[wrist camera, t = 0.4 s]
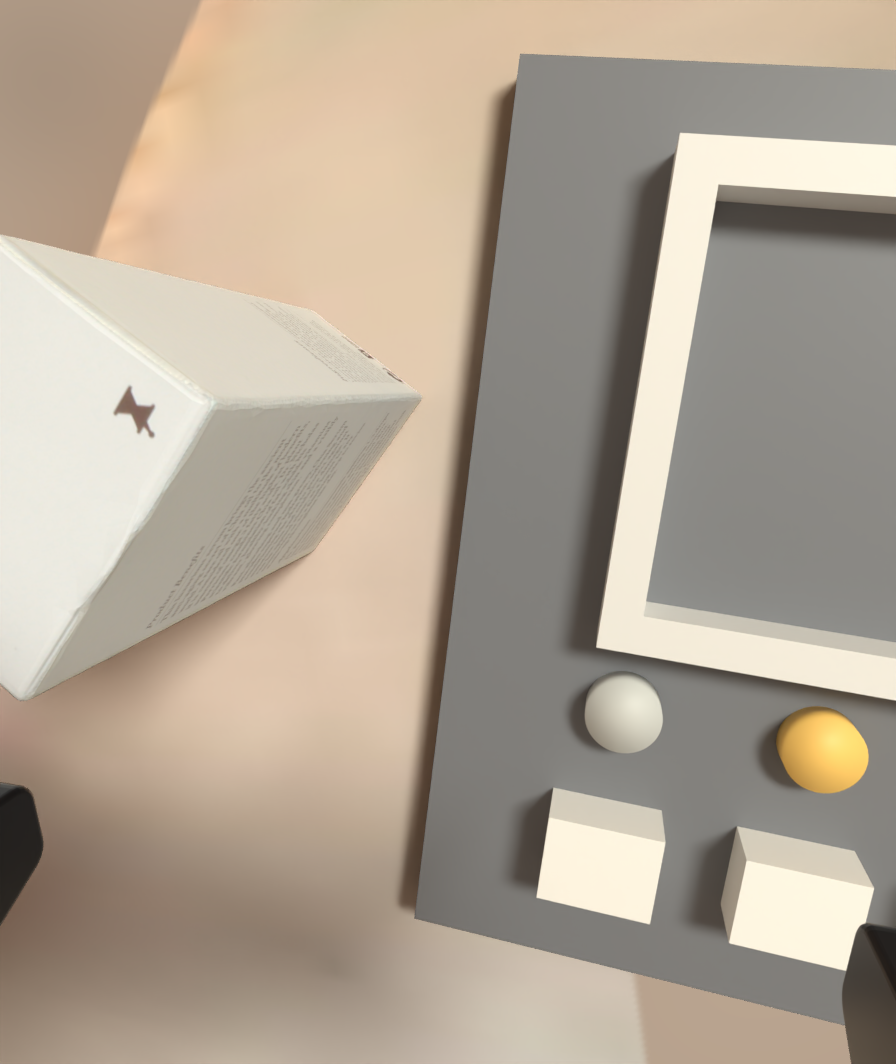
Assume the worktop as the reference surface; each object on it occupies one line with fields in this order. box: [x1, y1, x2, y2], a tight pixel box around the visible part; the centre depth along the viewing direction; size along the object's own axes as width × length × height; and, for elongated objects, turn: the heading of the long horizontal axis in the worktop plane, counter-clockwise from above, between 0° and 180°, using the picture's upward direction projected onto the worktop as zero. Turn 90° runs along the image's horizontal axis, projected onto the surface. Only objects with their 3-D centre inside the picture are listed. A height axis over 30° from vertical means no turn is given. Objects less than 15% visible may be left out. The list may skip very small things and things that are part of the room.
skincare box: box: [0, 235, 422, 701], centre depth 17 cm, size 6×4×12 cm
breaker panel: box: [414, 54, 896, 1025], centre depth 19 cm, size 24×18×3 cm
